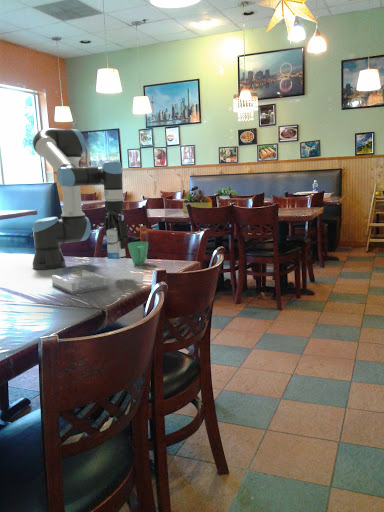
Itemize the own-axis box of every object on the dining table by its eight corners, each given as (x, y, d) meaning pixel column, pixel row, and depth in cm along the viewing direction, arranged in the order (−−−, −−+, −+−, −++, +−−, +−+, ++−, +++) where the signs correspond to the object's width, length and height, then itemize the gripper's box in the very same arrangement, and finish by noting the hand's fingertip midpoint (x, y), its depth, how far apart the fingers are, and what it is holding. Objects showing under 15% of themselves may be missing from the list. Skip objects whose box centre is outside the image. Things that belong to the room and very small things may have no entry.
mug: (127, 262, 218) (126, 242, 217) (146, 261, 221) (145, 241, 220) (132, 268, 205) (131, 246, 203) (153, 266, 208) (152, 245, 206)
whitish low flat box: (52, 285, 176) (51, 275, 175) (85, 279, 184) (85, 270, 183) (72, 294, 160) (71, 283, 159) (107, 288, 168) (107, 277, 168)
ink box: (118, 259, 181) (117, 230, 179) (107, 259, 182) (105, 230, 180) (125, 255, 189) (124, 227, 187) (114, 255, 190) (113, 227, 188)
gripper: (93, 199, 187) (96, 252, 191) (118, 202, 170) (121, 259, 175) (110, 198, 192) (112, 250, 196) (135, 201, 175) (137, 257, 179)
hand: (116, 254), depth 185 cm, fingers closed on ink box, 9 cm apart
